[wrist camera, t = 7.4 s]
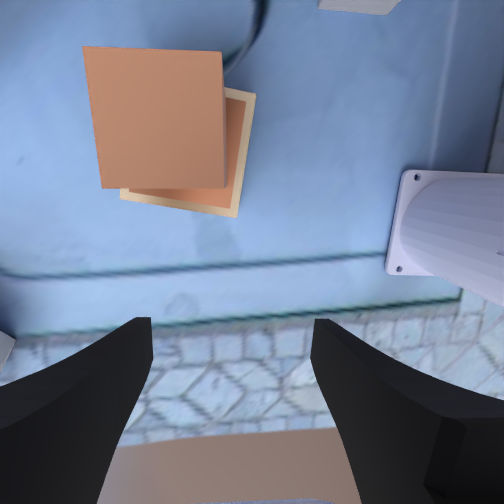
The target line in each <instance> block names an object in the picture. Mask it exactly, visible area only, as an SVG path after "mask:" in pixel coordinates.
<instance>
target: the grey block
mask: <svg viewBox="0 0 504 504" xmlns="http://www.w3.org/2000/svg"><path fill="white" fill-rule="evenodd" d="M400 1H401V0H318V9H324V10H334V11H345V12H355V13H366V14H377V15H388V14H389V12H390V11H391V10H392V9H393V8H394V7H395V6H396V5H397V4H398V3H399V2H400Z"/></svg>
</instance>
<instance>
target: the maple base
mask: <svg viewBox="0 0 504 504" xmlns="http://www.w3.org/2000/svg"><path fill="white" fill-rule="evenodd" d="M256 95H257V94H254V93H249V92H245V91H240V90H236V89H231V88H227V87H225V98H226V141H227V186H226V187H225V189H120V199H123V200H129V201H135V202H141V203H148V204H154V205H160V206H166V207H172V208H178V209H184V210H190V211H196V212H203V213H209V214H215V215H221V216H227V217H233V218H237V214H238V207H239V201H240V195H241V189H242V182H243V176H244V170H245V164H246V157H247V151H248V145H249V139H250V132H251V126H252V120H253V114H254V107H255V101H256Z"/></svg>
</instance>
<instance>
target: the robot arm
mask: <svg viewBox="0 0 504 504" xmlns="http://www.w3.org/2000/svg"><path fill="white" fill-rule="evenodd" d="M416 174H417V175H418V178H417V179H416V180H415V179H414V176H415V175H416ZM398 266H400V268H399V270H397V271H396V268H397V267H398ZM385 271H386V272H387V273H388V274H390V275H429V276H438V277H440V278H442V279H445V280H447V281H449V282H451V283H453V284H455V285H457V286H459V287H461V288H463V289H465V290H468V291H470V292H472V293H474V294H476V295H478V296H480V297H482V298H484V299H486V300H488V301H491V302H493V303H495V304H497V305H499V306H501V307H503V308H504V174H492V173H472V172H452V171H431V170H406V171H404V173H403V174H402V177H401V182H400V188H399V193H398V198H397V204H396V209H395V215H394V220H393V226H392V231H391V237H390V242H389V247H388V253H387V258H386V264H385ZM310 359H311V363H312V367H313V370H314V374H315V377H316V380H317V382H318V385H319V387H320V389H321V392H322V394H323V396H324V399H325V401H326V403H327V405H328V408H329V410H330V412H331V415H332V417H333V419H334V421H335V424H336V426H337V428H338V431H339V433H340V436H341V439H342V441H343V445H344V448H345V450H346V454H347V457H348V460H349V463H350V466H351V469H352V472H353V475H354V479H355V482H356V486H357V489H358V492H359V495H360V499H361V502H362V504H504V400H501V399H497V398H493V397H490V396H486V395H483V394H479V393H476V392H473V391H470V390H467V389H464V388H461V387H458V386H455V385H453V384H450V383H447V382H445V381H442V380H439V379H437V378H435V377H432V376H430V375H427V374H425V373H422V372H420V371H418V370H416V369H413V368H411V367H409V366H407V365H405V364H403V363H401V362H399V361H397V360H395V359H393V358H391V357H389V356H387V355H386V354H384V353H382V352H381V351H379V350H377V349H375V348H374V347H372V346H370V345H369V344H367V343H365V342H364V341H362V340H361V339H359V338H358V337H356V336H355V335H353V334H352V333H350V332H349V331H347V330H346V329H344V328H343V327H341V326H339V325H338V324H336V323H335V322H333V321H331V320H330V319H315V323H314V331H313V339H312V347H311V356H310ZM152 361H153V346H152V329H151V317H136V318H134V319H132V320H130V321H129V322H127V323H125V324H124V325H122V326H120V327H119V328H117V329H116V330H114V331H113V332H111V333H109V334H108V335H106V336H105V337H103V338H101V339H100V340H98V341H96V342H95V343H93V344H91V345H89V346H88V347H86V348H84V349H82V350H81V351H79V352H77V353H75V354H74V355H72V356H70V357H68V358H66V359H64V360H62V361H60V362H58V363H56V364H54V365H51V366H49V367H47V368H45V369H43V370H41V371H38V372H36V373H33V374H31V375H28V376H26V377H23V378H21V379H18V380H16V381H14V382H11V383H9V384H6V385H3V386H0V504H97V500H98V498H99V495H100V492H101V489H102V486H103V483H104V480H105V477H106V474H107V471H108V468H109V466H110V462H111V460H112V457H113V454H114V452H115V449H116V446H117V444H118V441H119V439H120V437H121V434H122V432H123V430H124V428H125V426H126V423H127V421H128V419H129V417H130V415H131V413H132V411H133V408H134V406H135V404H136V402H137V400H138V398H139V396H140V393H141V391H142V389H143V387H144V385H145V382H146V380H147V377H148V374H149V371H150V368H151V364H152ZM197 504H334V503H332V502H328V501H321V500H315V499H289V500H288V499H287V500H266V501H265V500H264V501H244V502H219V503H197Z"/></svg>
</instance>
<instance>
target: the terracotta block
mask: <svg viewBox="0 0 504 504" xmlns="http://www.w3.org/2000/svg"><path fill="white" fill-rule="evenodd" d="M82 49H83V56H84V63H85V70H86V77H87V85H88V92H89V99H90V106H91V113H92V120H93V128H94V135H95V142H96V149H97V156H98V163H99V171H100V178H101V185H102V188H107V189H225V187H226V186H227V141H226V98H225V87H224V75H223V64H222V52H220V51H194V50H168V49H142V48H117V47H91V46H82Z"/></svg>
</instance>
